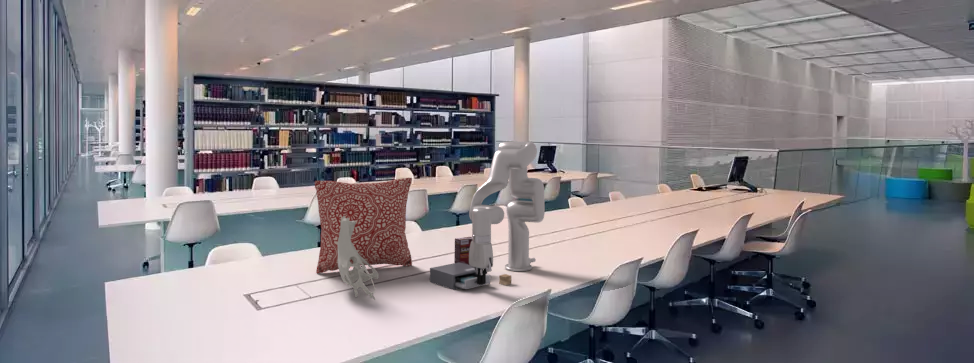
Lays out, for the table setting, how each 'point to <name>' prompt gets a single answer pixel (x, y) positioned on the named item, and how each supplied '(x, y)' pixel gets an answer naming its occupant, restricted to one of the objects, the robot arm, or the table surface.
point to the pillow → (364, 221)
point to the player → (450, 274)
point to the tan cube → (505, 279)
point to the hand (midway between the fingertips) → (481, 283)
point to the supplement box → (462, 250)
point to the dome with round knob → (465, 278)
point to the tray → (470, 282)
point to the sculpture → (349, 252)
